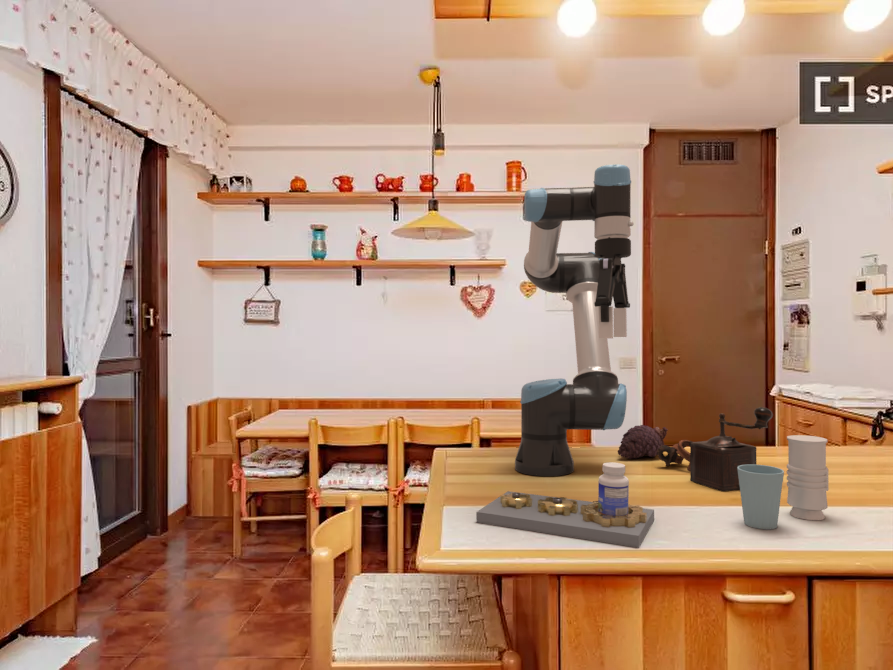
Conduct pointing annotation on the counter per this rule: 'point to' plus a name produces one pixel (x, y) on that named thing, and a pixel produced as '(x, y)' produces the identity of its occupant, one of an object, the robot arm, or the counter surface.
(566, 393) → the robot arm
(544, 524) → the gear board
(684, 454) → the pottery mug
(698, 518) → the counter surface
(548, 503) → the gear
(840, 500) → the counter surface
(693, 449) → the manual coffee grinder
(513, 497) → the idler gear
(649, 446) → the pine cone
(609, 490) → the pill bottle
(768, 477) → the cup
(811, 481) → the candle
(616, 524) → the gear
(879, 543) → the counter surface
